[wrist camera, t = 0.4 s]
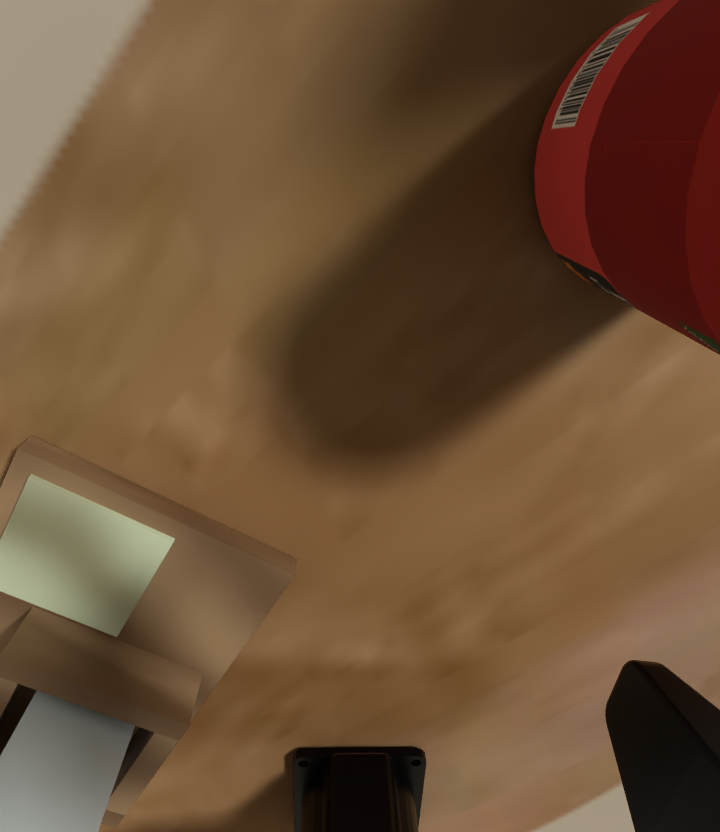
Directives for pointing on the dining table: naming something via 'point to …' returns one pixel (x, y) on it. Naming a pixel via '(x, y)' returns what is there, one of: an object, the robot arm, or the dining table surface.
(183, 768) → the dining table surface
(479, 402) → the dining table surface
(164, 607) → the brown slotted holder
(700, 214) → the canned food
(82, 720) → the block
